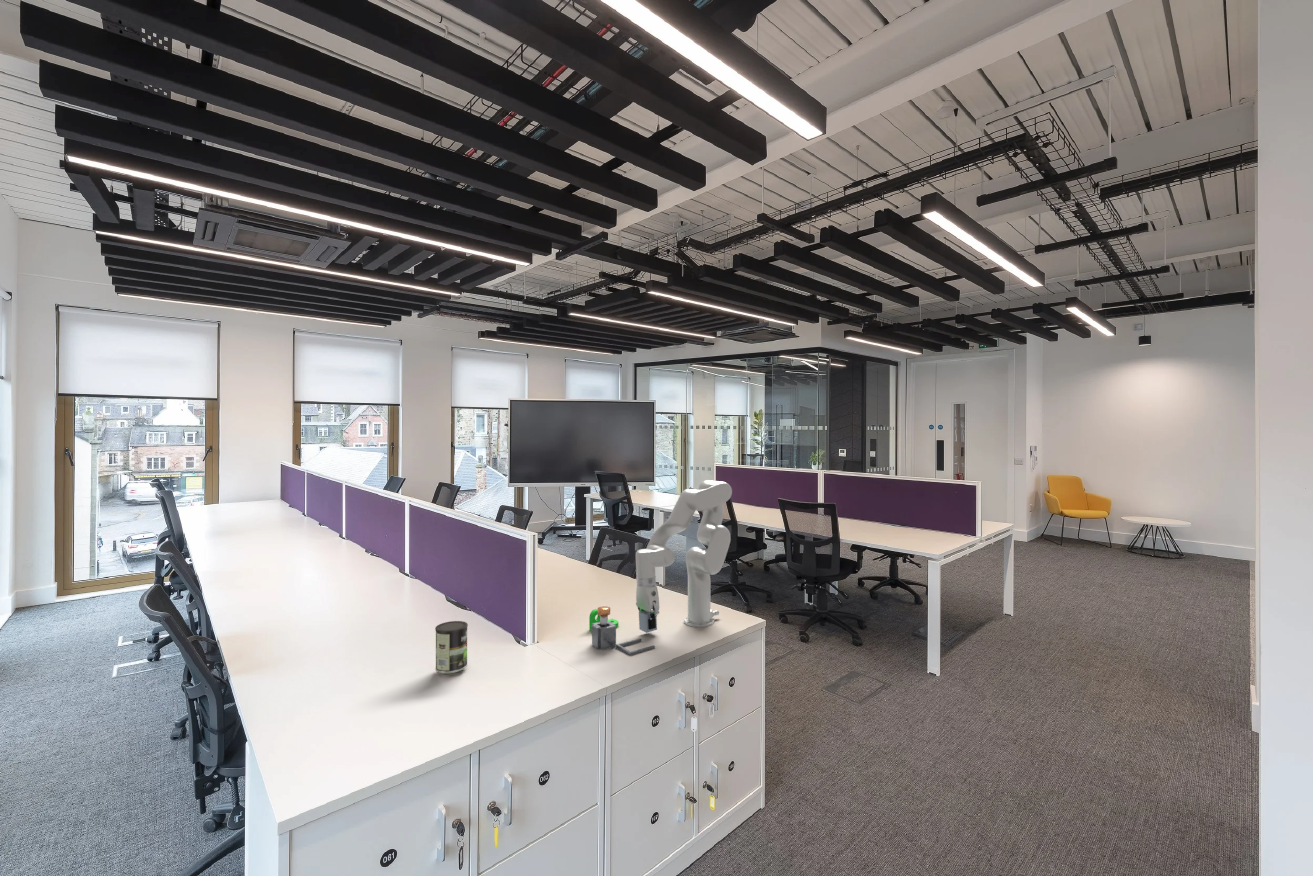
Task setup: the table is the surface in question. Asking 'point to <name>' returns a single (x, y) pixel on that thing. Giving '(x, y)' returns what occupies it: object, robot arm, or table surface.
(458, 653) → the coffee can
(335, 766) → the table surface
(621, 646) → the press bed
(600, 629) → the copper disc holder
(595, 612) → the mechanical part
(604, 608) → the plunger
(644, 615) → the light blue block
